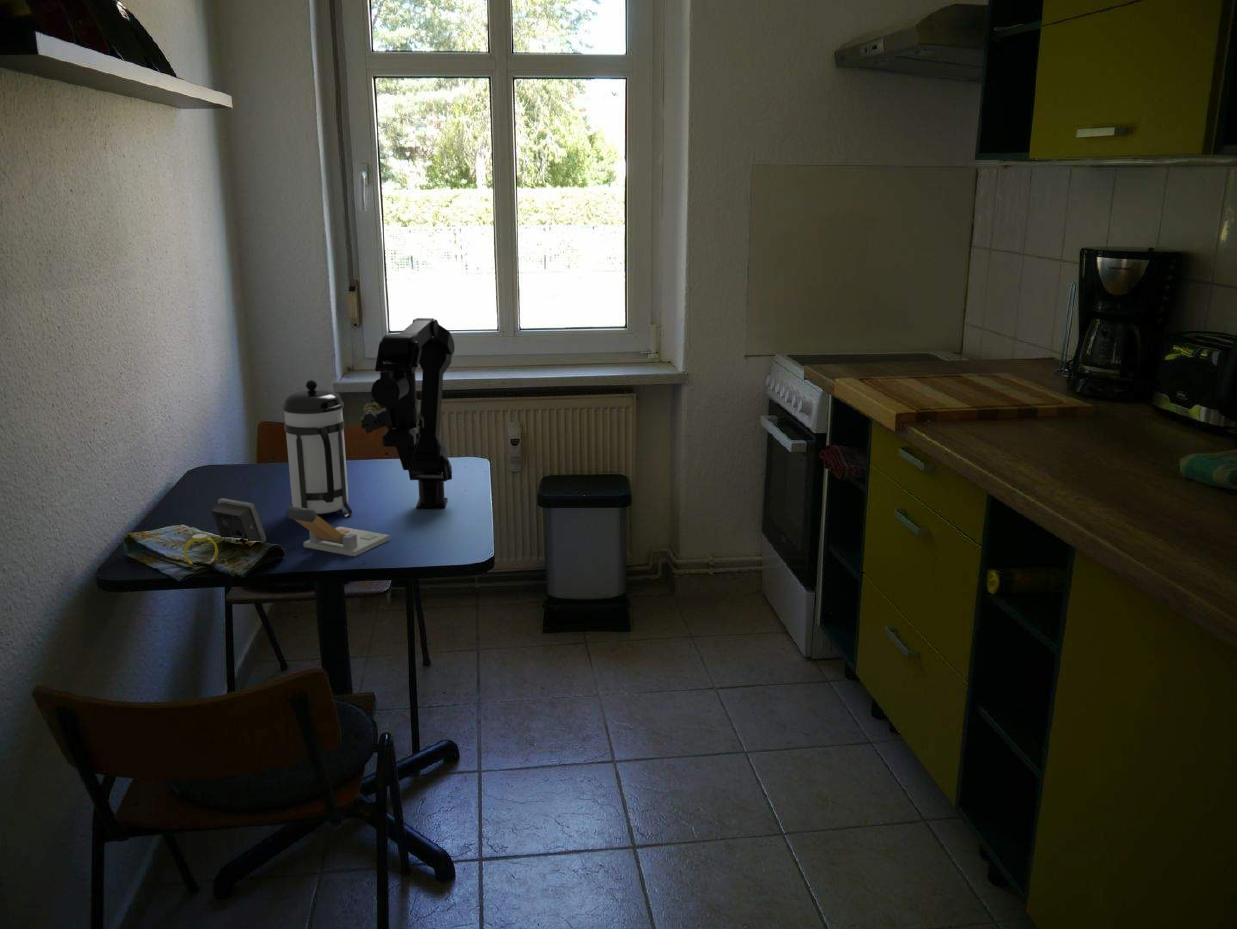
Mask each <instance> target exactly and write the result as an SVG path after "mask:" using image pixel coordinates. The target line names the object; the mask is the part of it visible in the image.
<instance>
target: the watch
mask: <svg viewBox="0 0 1237 929" xmlns="http://www.w3.org/2000/svg"><path fill="white" fill-rule="evenodd" d="M204 541H208V542H211V544H213V545H214V553H213V556H212V557H214V558H216V559H217V558H218V555H219V549H218V545H217V543H216V542H215V541H214V540H213V538H212V537H210V536H208V534H207V533H196V534H194V535H192V536H191V538H190V539H189V540H188V541H186V543H185V545H184V547H183V556H184V559H185V561H186V562H187V563H188V564H189V565H190V566H192V565H191V564H193V563H194V562H193V561H192V562H193V563H192V562H191V560H190V559H189V557H188V550H189V547H190V546H191V545H192V544H193V543H194V542H204Z"/></svg>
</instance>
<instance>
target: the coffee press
mask: <svg viewBox="0 0 1237 929" xmlns="http://www.w3.org/2000/svg"><path fill="white" fill-rule="evenodd" d="M317 386H318V384H317V382H316V381H315V380H313V379H310V380H308V381H307V382H306V385H305V387H306V388H307V389H306V390H300V391H296V392H293V393H291V394H289V395H287V397H285V399H284V402H283V404H282V405H281V410H282V412H284V414H283V415H284V422H283V423H284V432H285V436H286V446H287V457H288V458H287V460H288V468H289V470H288V471H289V481H290V483H289V484H290V492H291V503H292V504H291V505H290V506H294V507H300V508H306V509H312V510H315V512H316V515H323V514H331V513H334V512H338V513H340V514H342V516H343V517H345V518H348V517H349V516H351V515H352V514H353V510H352V509H351V507H350V506H349V504H348V503H349V489H348V487H349V486H348V474H347V473H348V472H347V460H346V444H345V431H344V429H345V420H344V416H343V408H344V407H345V405H344V404H345V403H344V401H342V399H341V397H340V396H339V394H338V393H336V392H334V391H331V390H326V389H325V390H324V389H317V388H318V387H317ZM344 509H345V510H346V511H345V510H344Z"/></svg>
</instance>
